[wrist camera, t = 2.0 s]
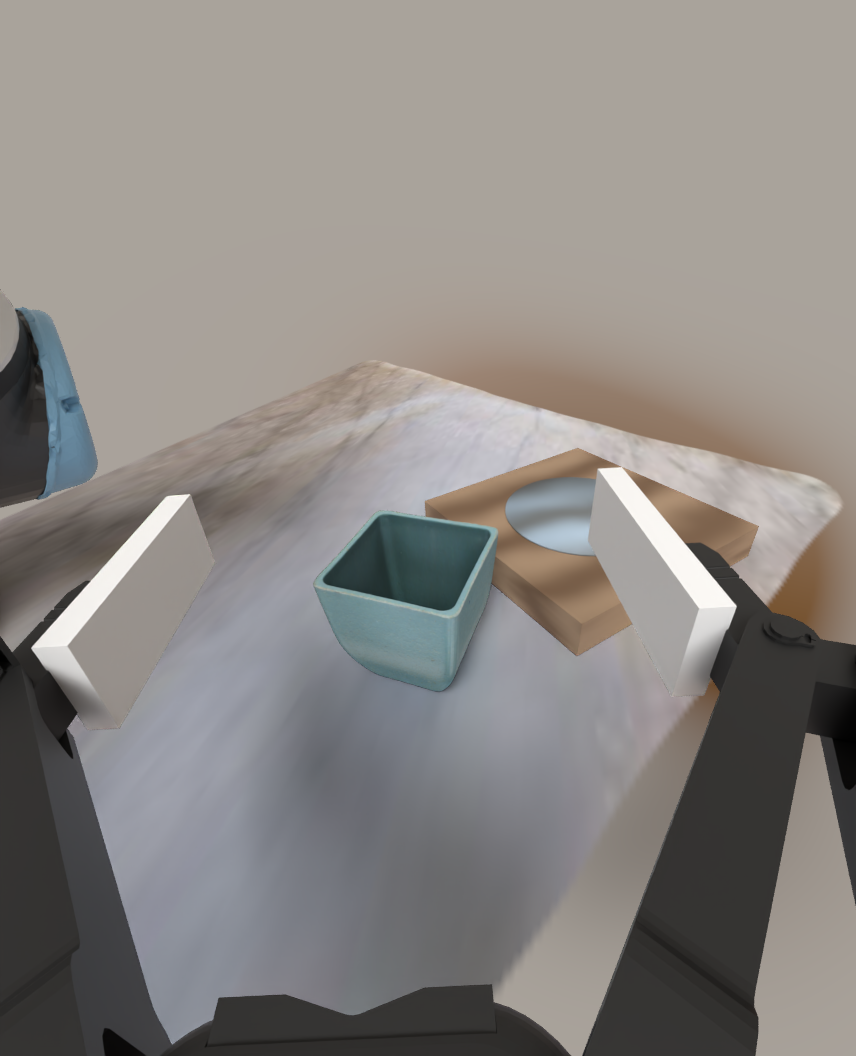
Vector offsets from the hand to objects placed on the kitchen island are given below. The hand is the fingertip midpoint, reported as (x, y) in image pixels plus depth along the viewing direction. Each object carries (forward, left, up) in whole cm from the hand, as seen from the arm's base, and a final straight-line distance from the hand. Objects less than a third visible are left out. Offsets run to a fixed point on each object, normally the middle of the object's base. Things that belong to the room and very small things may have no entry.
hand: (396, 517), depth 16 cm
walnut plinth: (-13, +24, -18) cm, 32 cm away
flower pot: (-9, +5, -18) cm, 21 cm away
